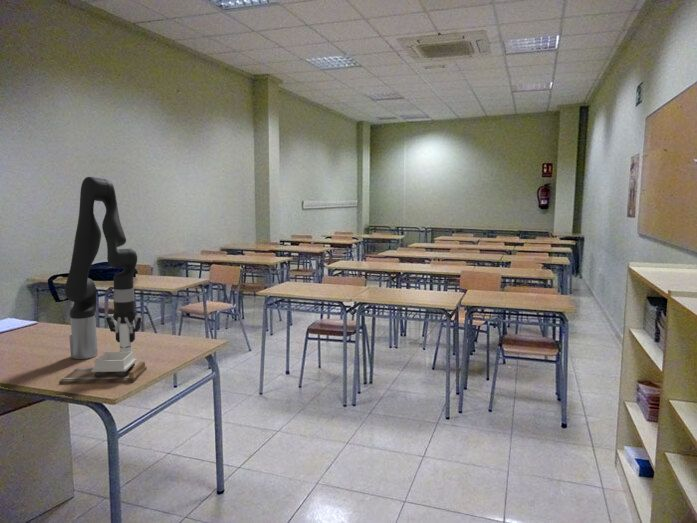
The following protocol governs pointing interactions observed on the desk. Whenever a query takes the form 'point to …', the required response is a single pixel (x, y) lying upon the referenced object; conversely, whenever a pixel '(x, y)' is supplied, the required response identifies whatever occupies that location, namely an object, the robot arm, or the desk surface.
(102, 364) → the white open tray
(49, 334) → the desk surface
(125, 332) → the tube
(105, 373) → the track
